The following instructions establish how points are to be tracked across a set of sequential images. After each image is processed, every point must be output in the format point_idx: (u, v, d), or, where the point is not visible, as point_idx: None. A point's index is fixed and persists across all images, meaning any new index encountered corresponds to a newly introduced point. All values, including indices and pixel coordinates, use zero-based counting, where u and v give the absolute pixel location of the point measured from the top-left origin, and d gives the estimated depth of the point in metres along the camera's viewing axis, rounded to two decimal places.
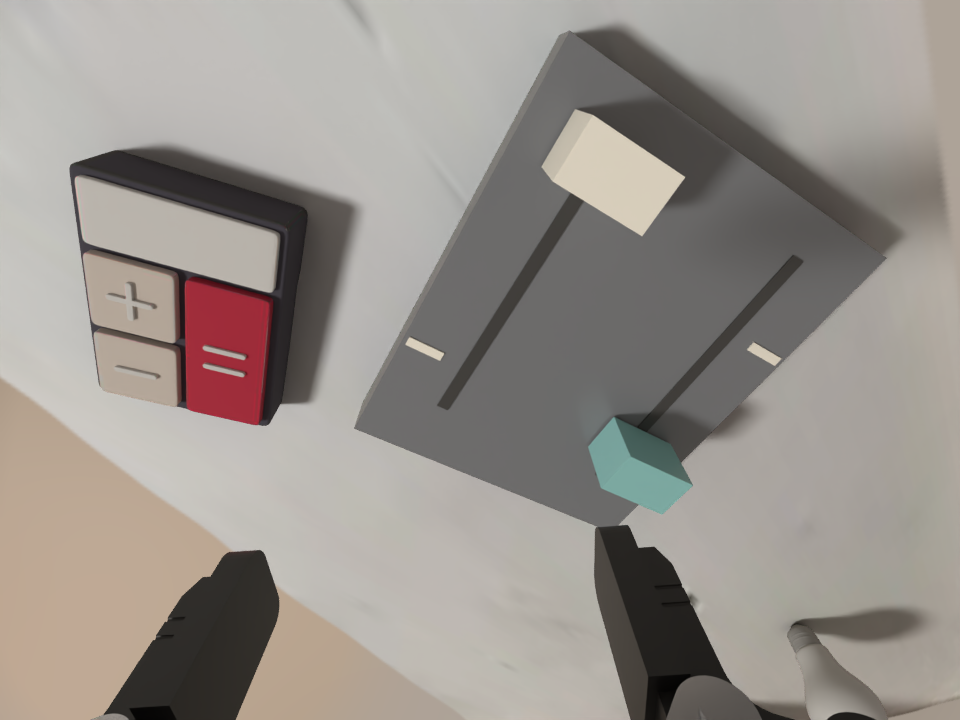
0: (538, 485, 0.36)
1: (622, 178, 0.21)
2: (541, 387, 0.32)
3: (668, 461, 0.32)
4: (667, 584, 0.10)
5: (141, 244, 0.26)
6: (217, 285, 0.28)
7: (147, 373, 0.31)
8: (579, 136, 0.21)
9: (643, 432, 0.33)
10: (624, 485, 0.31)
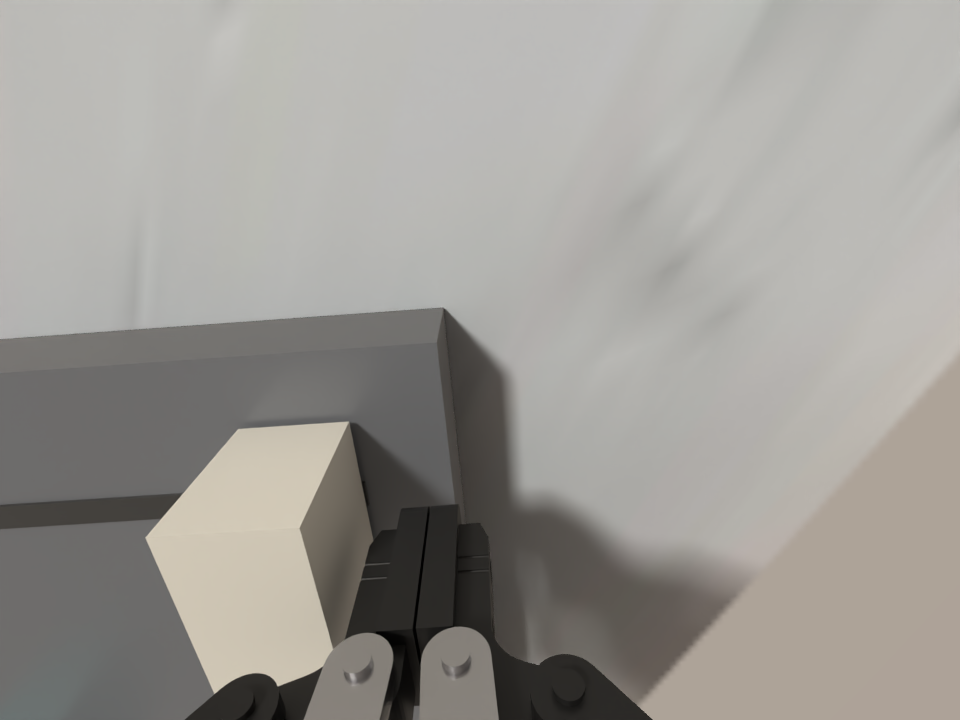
0: None
1: (261, 627, 0.10)
2: None
3: None
4: (476, 554, 0.11)
5: None
6: None
7: None
8: (253, 527, 0.09)
9: None
10: None
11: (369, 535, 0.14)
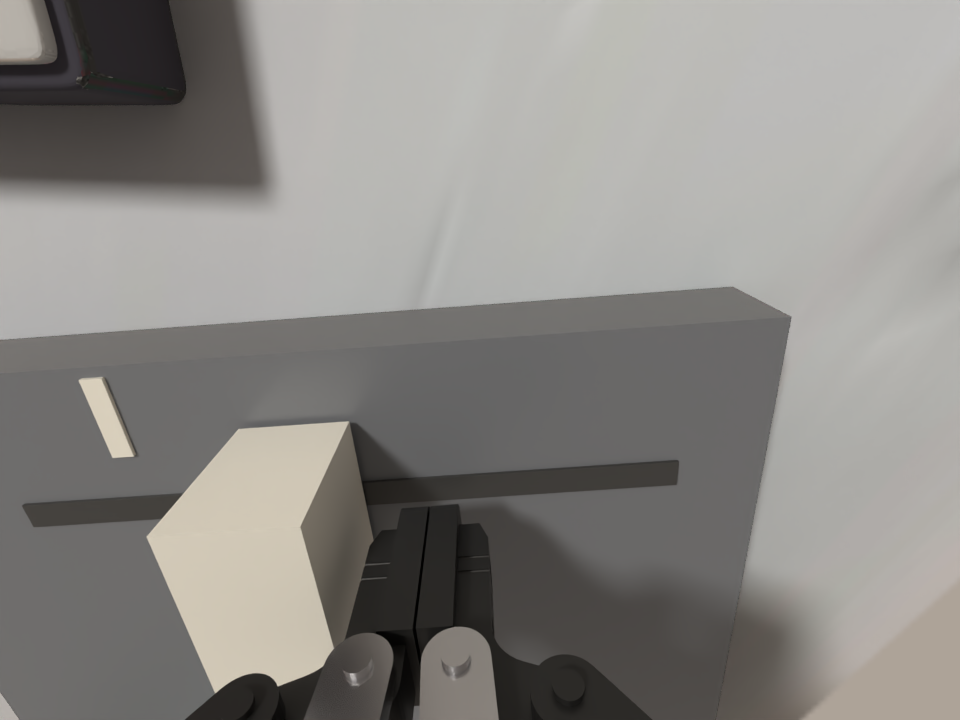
0: None
1: (261, 627, 0.10)
2: None
3: None
4: (476, 554, 0.11)
5: None
6: None
7: None
8: (254, 526, 0.09)
9: None
10: None
11: (369, 535, 0.14)
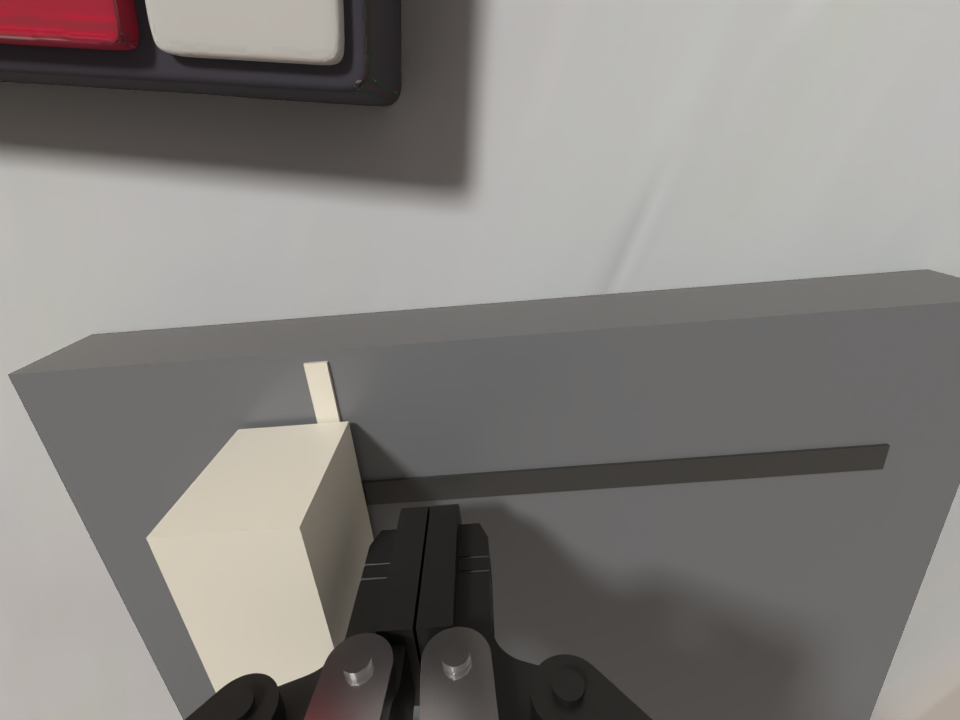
0: None
1: (262, 627, 0.10)
2: None
3: None
4: (476, 554, 0.11)
5: None
6: None
7: None
8: (253, 526, 0.09)
9: None
10: None
11: (369, 534, 0.14)
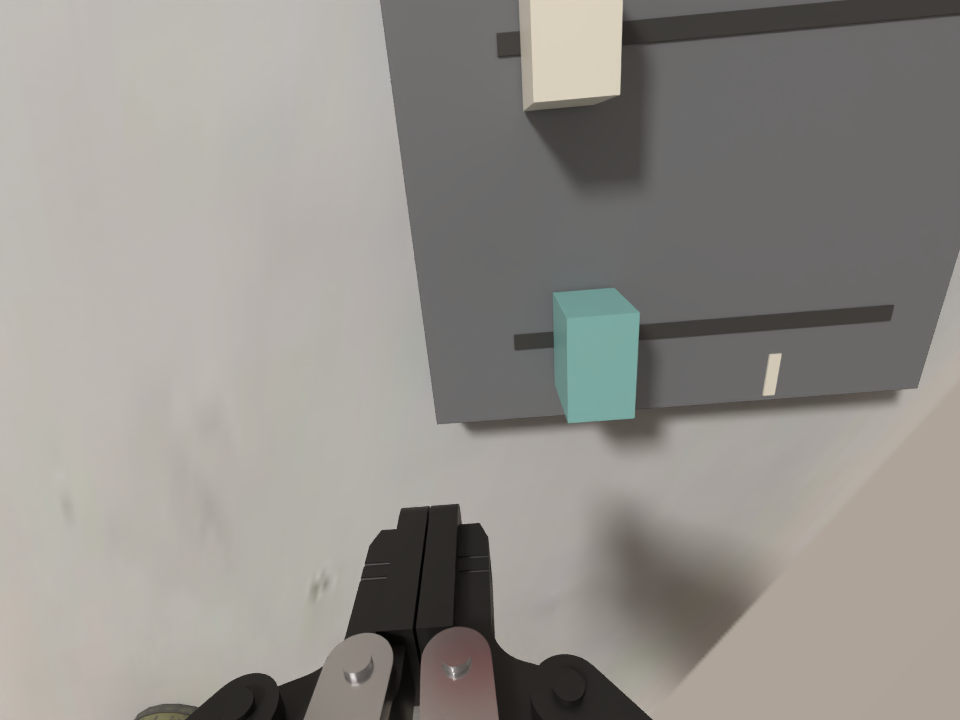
0: (450, 281, 0.24)
1: (579, 16, 0.16)
2: (606, 167, 0.22)
3: None
4: (476, 554, 0.11)
5: None
6: None
7: None
8: None
9: None
10: (588, 342, 0.20)
11: None
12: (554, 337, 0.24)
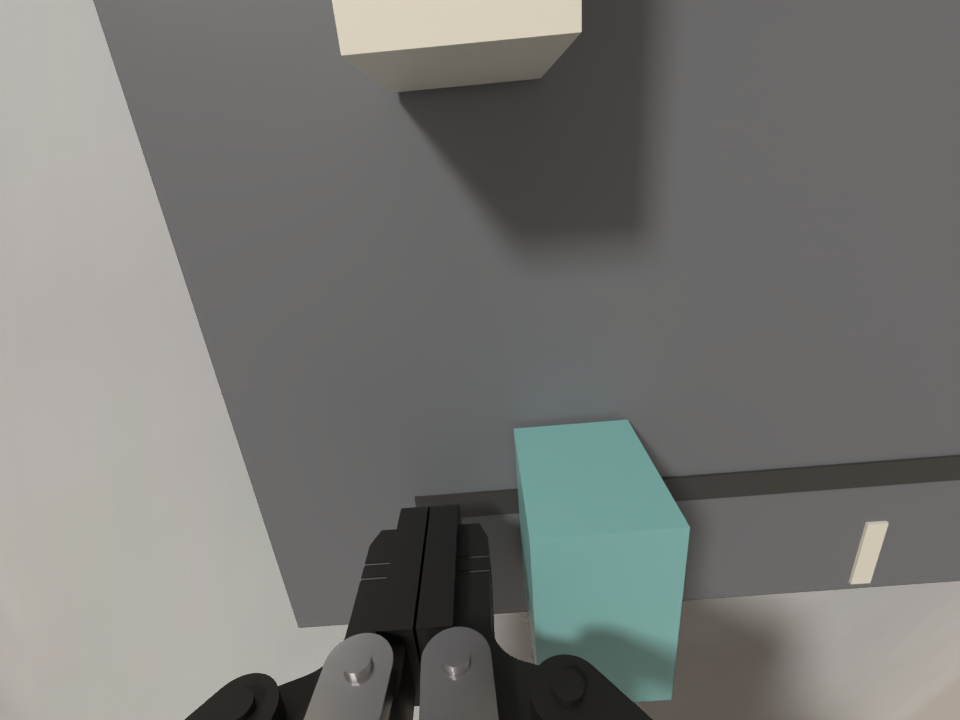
0: (288, 412, 0.13)
1: None
2: (570, 205, 0.11)
3: None
4: (476, 554, 0.11)
5: None
6: None
7: None
8: None
9: None
10: (578, 581, 0.10)
11: None
12: (519, 504, 0.13)
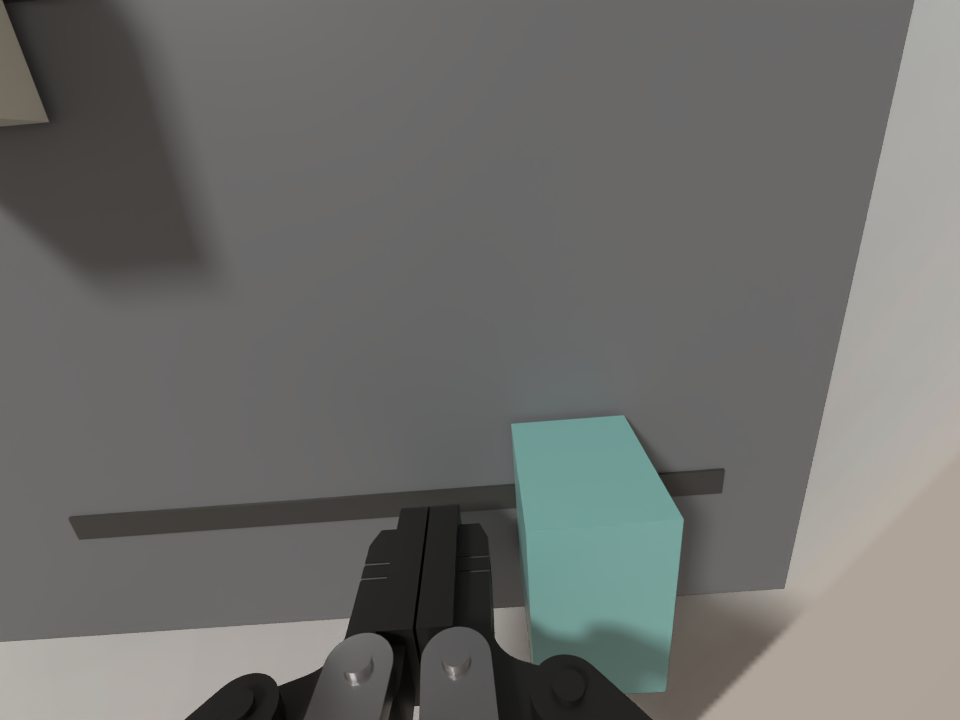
0: None
1: None
2: (128, 240, 0.11)
3: None
4: (476, 554, 0.11)
5: None
6: None
7: None
8: None
9: None
10: (573, 573, 0.10)
11: (8, 45, 0.09)
12: (516, 498, 0.14)
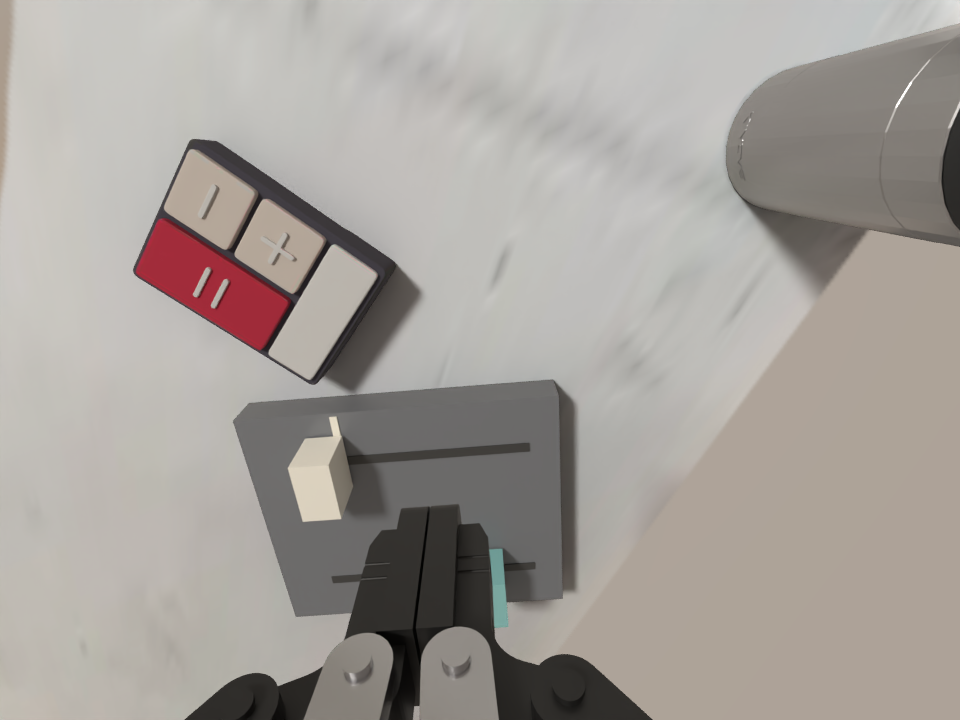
0: (293, 553, 0.44)
1: (316, 495, 0.37)
2: (365, 507, 0.42)
3: None
4: (476, 555, 0.11)
5: (321, 285, 0.34)
6: (280, 319, 0.35)
7: (206, 209, 0.32)
8: (316, 465, 0.36)
9: None
10: None
11: (349, 475, 0.40)
12: None
